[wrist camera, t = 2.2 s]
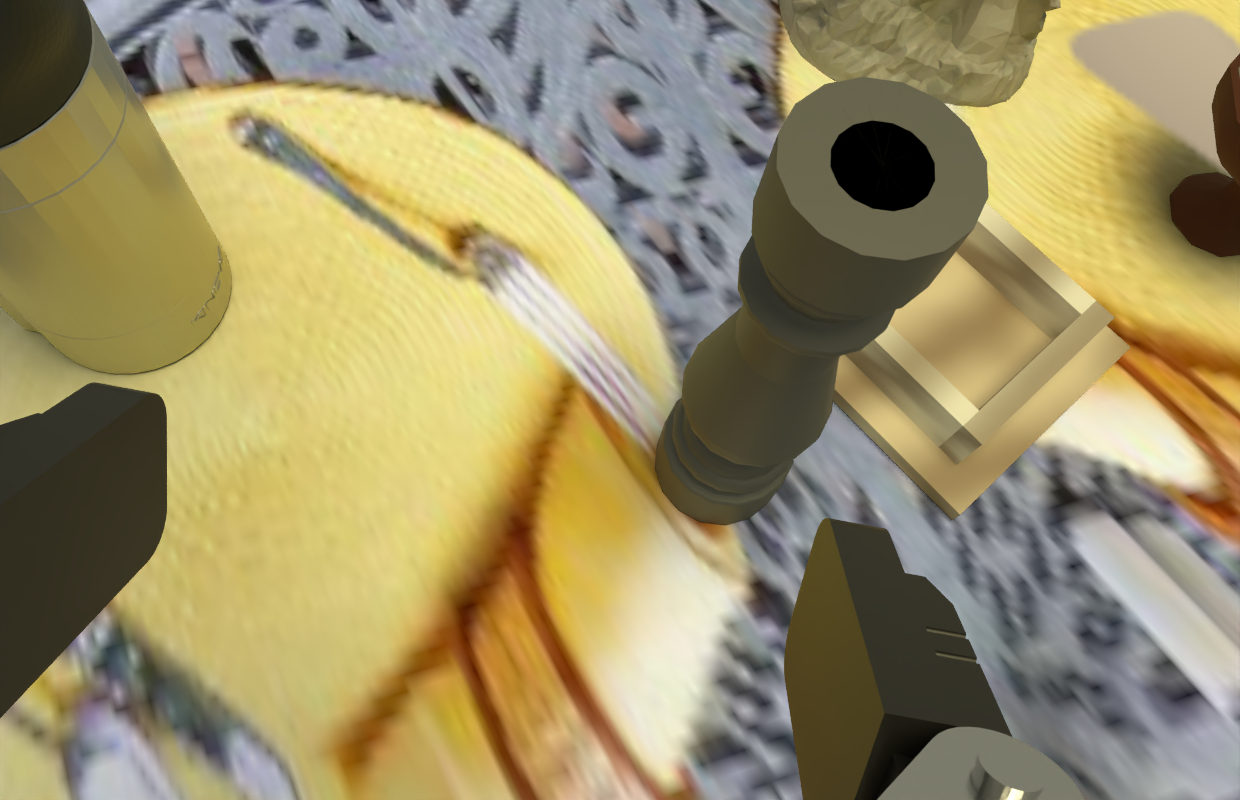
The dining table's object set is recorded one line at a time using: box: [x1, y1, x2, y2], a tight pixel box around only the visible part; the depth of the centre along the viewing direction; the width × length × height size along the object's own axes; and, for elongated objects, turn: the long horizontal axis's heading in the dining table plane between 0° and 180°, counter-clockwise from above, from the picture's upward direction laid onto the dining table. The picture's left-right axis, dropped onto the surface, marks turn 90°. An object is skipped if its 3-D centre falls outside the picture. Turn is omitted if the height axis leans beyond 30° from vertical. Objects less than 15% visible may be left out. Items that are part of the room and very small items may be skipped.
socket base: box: [833, 203, 1130, 520], centre depth 51 cm, size 14×14×4 cm
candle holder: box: [655, 77, 988, 525], centre depth 37 cm, size 6×6×25 cm
